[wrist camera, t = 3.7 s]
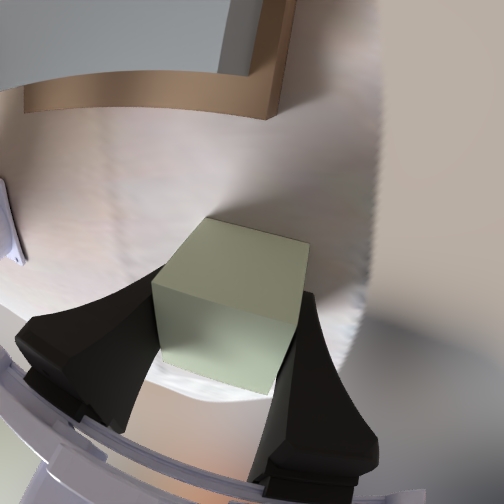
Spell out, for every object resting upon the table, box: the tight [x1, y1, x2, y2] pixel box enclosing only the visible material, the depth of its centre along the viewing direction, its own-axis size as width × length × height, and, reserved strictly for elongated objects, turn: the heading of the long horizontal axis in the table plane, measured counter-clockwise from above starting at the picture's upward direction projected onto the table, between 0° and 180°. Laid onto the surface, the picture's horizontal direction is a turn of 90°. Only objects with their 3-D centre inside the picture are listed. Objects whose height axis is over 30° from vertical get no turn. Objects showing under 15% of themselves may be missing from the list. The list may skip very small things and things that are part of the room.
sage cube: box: [151, 218, 310, 395], centre depth 11 cm, size 4×4×4 cm
